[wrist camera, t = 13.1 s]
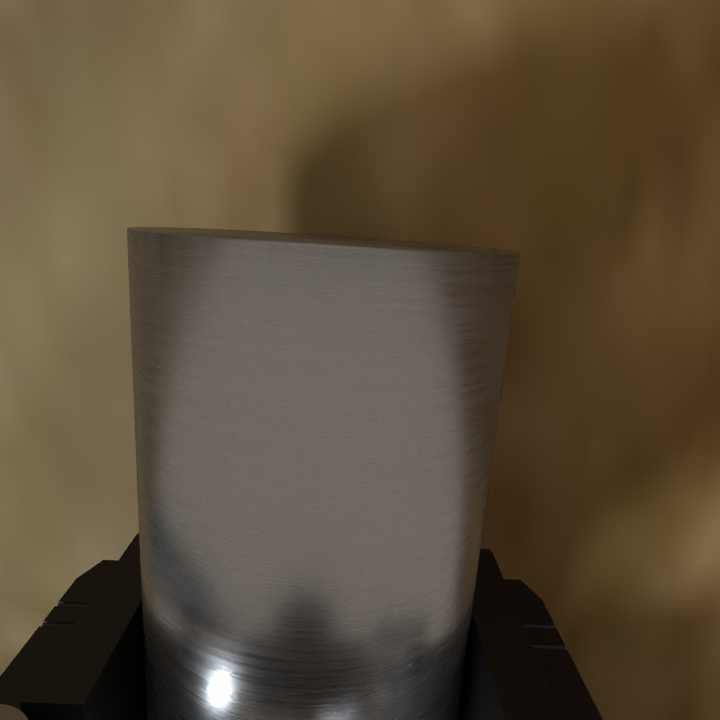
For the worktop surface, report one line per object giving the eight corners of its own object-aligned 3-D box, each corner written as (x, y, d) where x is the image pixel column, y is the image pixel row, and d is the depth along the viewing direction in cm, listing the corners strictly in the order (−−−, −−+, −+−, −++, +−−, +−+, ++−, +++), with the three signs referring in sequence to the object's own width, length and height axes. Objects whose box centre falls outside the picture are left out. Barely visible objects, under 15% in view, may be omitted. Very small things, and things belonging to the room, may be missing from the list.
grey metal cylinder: (401, 769, 12) (459, 1094, 8) (188, 781, 12) (115, 1137, 7) (457, 243, 10) (602, 263, 5) (179, 225, 9) (45, 229, 4)
